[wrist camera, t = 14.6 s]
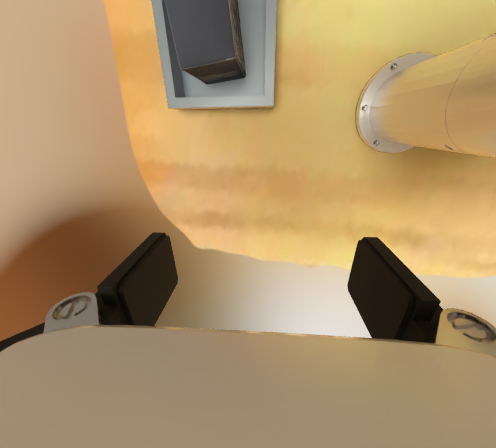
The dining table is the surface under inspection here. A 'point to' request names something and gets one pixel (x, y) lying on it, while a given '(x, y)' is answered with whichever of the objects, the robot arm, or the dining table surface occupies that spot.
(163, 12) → the crate
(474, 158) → the dining table surface
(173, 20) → the small box
